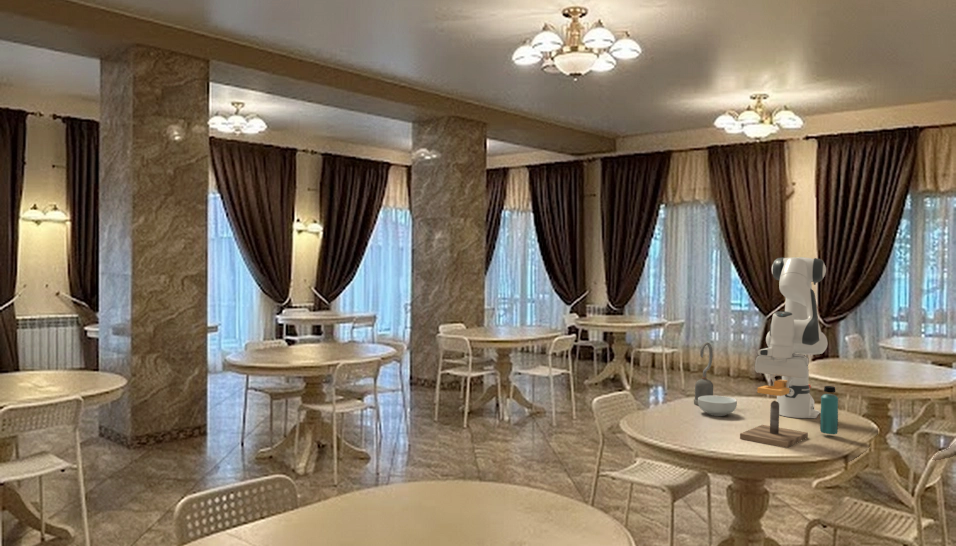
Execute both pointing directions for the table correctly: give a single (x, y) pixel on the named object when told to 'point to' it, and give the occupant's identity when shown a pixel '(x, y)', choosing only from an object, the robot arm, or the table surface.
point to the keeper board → (774, 438)
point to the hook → (704, 378)
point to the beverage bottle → (829, 412)
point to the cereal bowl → (717, 405)
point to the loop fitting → (774, 388)
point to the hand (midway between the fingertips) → (780, 386)
